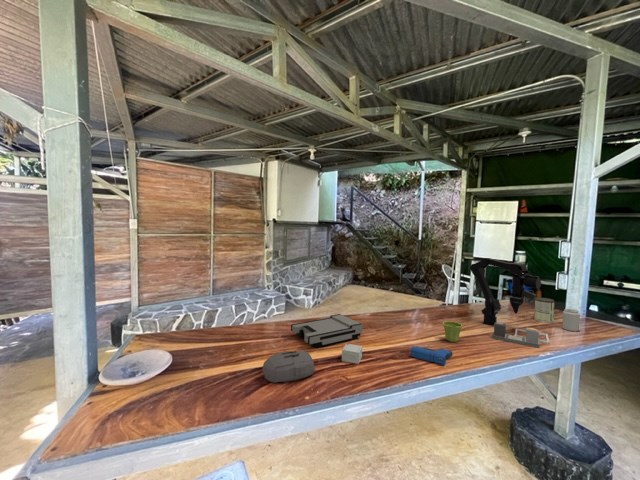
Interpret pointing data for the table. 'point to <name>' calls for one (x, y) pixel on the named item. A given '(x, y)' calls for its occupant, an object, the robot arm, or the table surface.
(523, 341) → the strip
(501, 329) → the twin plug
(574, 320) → the can
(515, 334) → the white square frame
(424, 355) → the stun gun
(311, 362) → the small grey backpack
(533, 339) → the plug
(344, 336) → the game console
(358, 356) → the small box
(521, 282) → the robot arm
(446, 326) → the plant pot
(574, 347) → the table surface
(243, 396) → the table surface
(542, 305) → the green desk organizer
